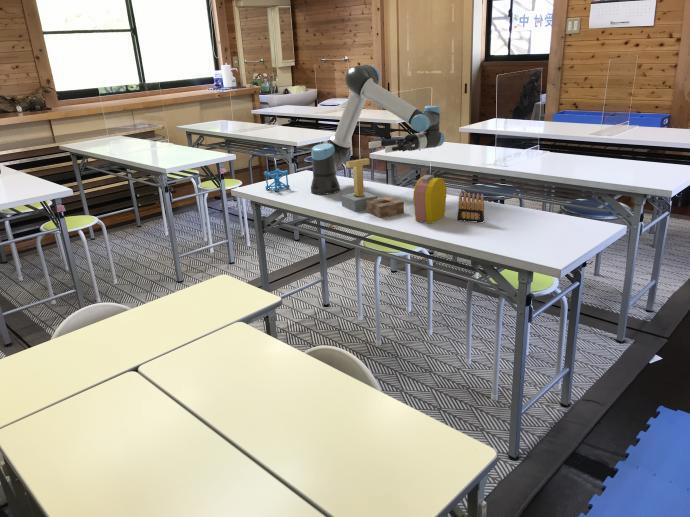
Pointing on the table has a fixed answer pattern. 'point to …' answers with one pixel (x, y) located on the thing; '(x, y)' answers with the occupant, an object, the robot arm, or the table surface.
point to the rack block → (356, 201)
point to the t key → (358, 175)
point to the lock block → (384, 207)
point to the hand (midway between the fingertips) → (377, 147)
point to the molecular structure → (276, 179)
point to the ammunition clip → (471, 208)
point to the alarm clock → (429, 199)
